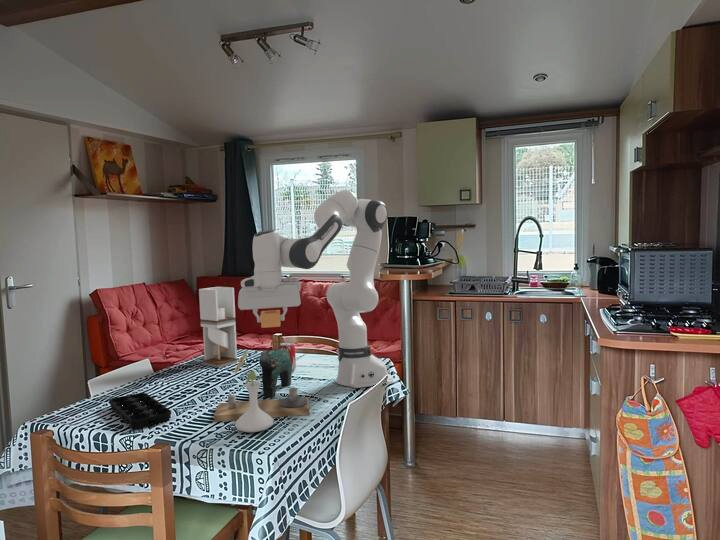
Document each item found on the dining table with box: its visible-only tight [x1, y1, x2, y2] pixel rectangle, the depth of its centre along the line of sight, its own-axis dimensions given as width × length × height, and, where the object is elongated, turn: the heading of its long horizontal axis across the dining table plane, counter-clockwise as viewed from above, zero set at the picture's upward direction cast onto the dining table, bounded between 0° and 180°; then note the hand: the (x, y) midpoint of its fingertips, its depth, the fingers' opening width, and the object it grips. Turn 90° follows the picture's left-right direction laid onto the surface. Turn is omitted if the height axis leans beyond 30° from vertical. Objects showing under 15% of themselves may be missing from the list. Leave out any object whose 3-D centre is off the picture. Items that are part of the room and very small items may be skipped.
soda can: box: [279, 341, 297, 373], centre depth 220 cm, size 7×7×12 cm
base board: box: [213, 387, 310, 422], centre depth 170 cm, size 30×12×7 cm, turn 98°
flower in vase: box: [233, 349, 275, 433], centre depth 153 cm, size 13×11×25 cm
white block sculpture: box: [198, 286, 238, 369], centre depth 236 cm, size 11×11×35 cm
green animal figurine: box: [259, 339, 293, 399], centre depth 191 cm, size 20×6×20 cm, turn 163°
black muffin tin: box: [108, 392, 172, 430], centre depth 170 cm, size 18×30×4 cm, turn 51°
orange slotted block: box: [260, 309, 282, 329], centre depth 168 cm, size 6×6×4 cm
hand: (271, 321), depth 169 cm, fingers closed on orange slotted block, 6 cm apart
